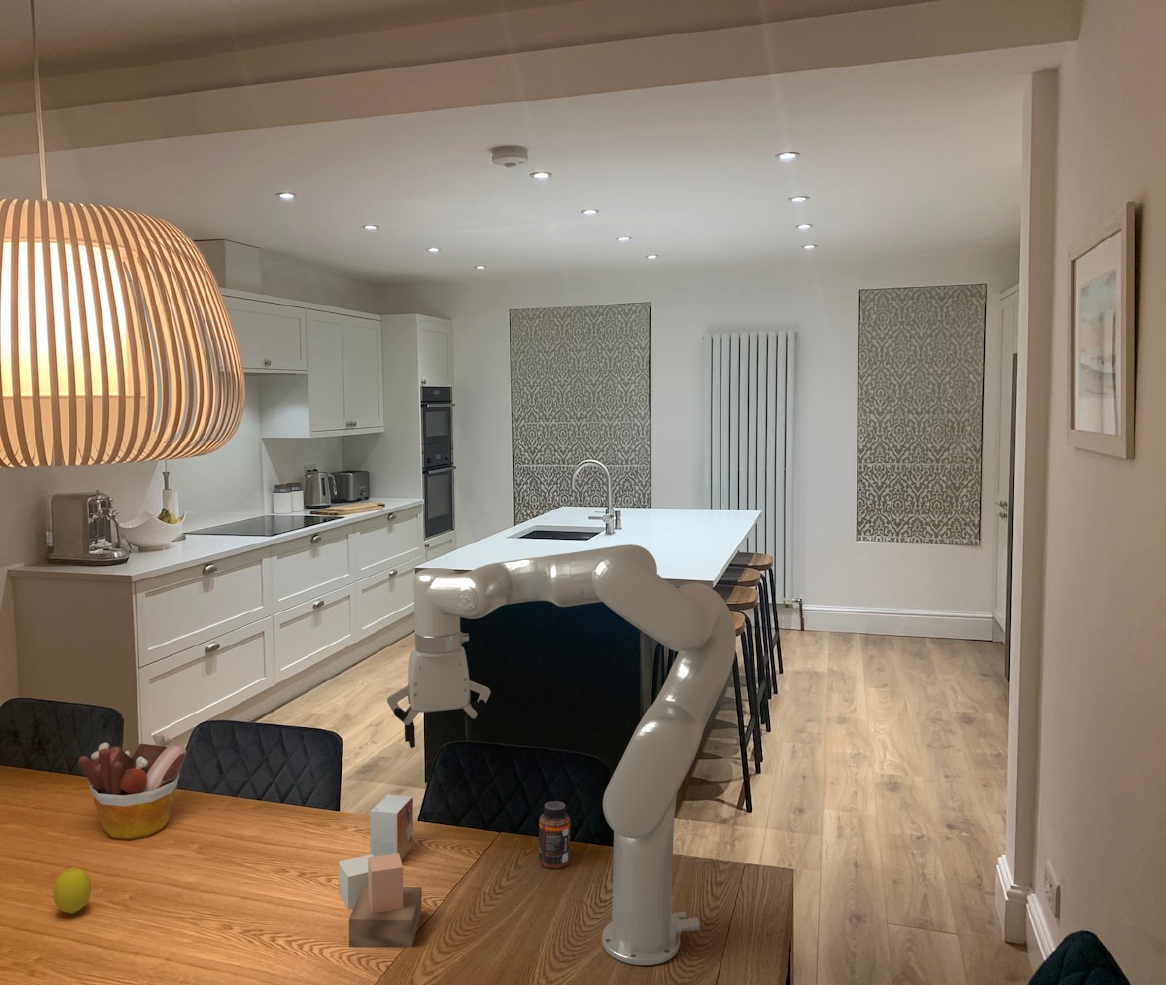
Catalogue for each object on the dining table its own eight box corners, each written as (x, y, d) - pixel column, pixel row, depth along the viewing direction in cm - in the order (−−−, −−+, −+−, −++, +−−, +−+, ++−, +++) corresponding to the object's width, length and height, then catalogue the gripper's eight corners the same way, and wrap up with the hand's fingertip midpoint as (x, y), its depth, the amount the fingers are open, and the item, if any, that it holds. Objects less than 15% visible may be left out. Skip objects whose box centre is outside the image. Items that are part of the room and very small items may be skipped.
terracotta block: (398, 893, 153) (398, 852, 152) (403, 908, 148) (403, 867, 148) (368, 897, 151) (368, 857, 151) (371, 913, 147) (371, 871, 146)
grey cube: (372, 885, 164) (372, 853, 164) (382, 901, 159) (382, 868, 158) (339, 893, 161) (338, 861, 161) (347, 910, 156) (347, 876, 155)
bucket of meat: (133, 804, 195) (131, 714, 194) (201, 812, 192) (200, 721, 190) (62, 847, 176) (58, 747, 174) (136, 857, 172) (133, 756, 171)
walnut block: (421, 915, 155) (421, 887, 155) (411, 949, 145) (411, 919, 145) (362, 914, 155) (362, 886, 155) (348, 949, 145) (348, 919, 145)
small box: (397, 867, 170) (397, 813, 170) (369, 864, 172) (369, 810, 171) (413, 847, 178) (413, 796, 177) (386, 844, 179) (386, 793, 178)
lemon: (57, 907, 155) (56, 862, 154) (94, 902, 157) (92, 857, 156) (51, 925, 150) (49, 878, 149) (89, 919, 152) (87, 873, 151)
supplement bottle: (574, 866, 172) (575, 809, 171) (544, 872, 170) (545, 813, 169) (563, 852, 178) (564, 796, 177) (534, 857, 175) (535, 800, 174)
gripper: (485, 633, 159) (487, 729, 160) (383, 641, 154) (387, 740, 155) (492, 643, 151) (495, 743, 153) (386, 652, 147) (390, 755, 148)
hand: (440, 741), depth 154 cm, fingers open, 9 cm apart
